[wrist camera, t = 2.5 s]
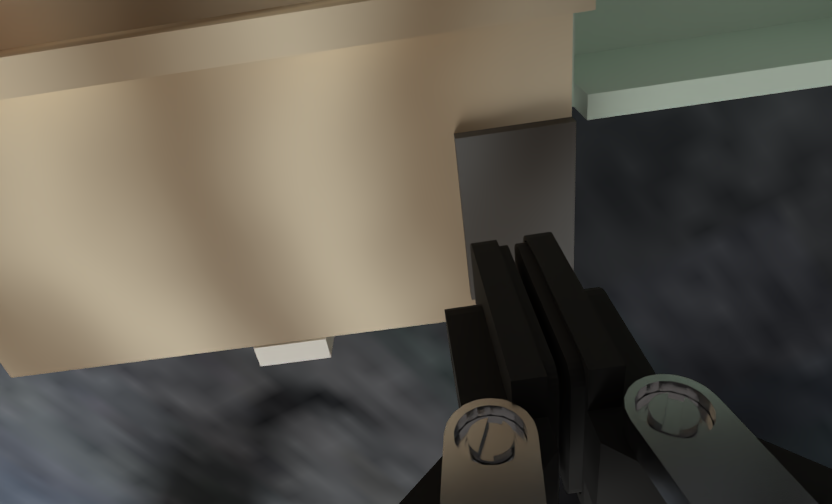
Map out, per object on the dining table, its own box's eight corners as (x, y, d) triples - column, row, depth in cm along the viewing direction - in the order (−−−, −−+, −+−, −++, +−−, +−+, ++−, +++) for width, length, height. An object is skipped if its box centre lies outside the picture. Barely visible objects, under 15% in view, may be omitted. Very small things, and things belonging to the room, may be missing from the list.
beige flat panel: (559, -457, 10) (614, -585, 7) (559, 283, 18) (584, 339, 15) (-388, -279, 10) (-626, -342, 8) (32, 352, 19) (-22, 416, 16)
